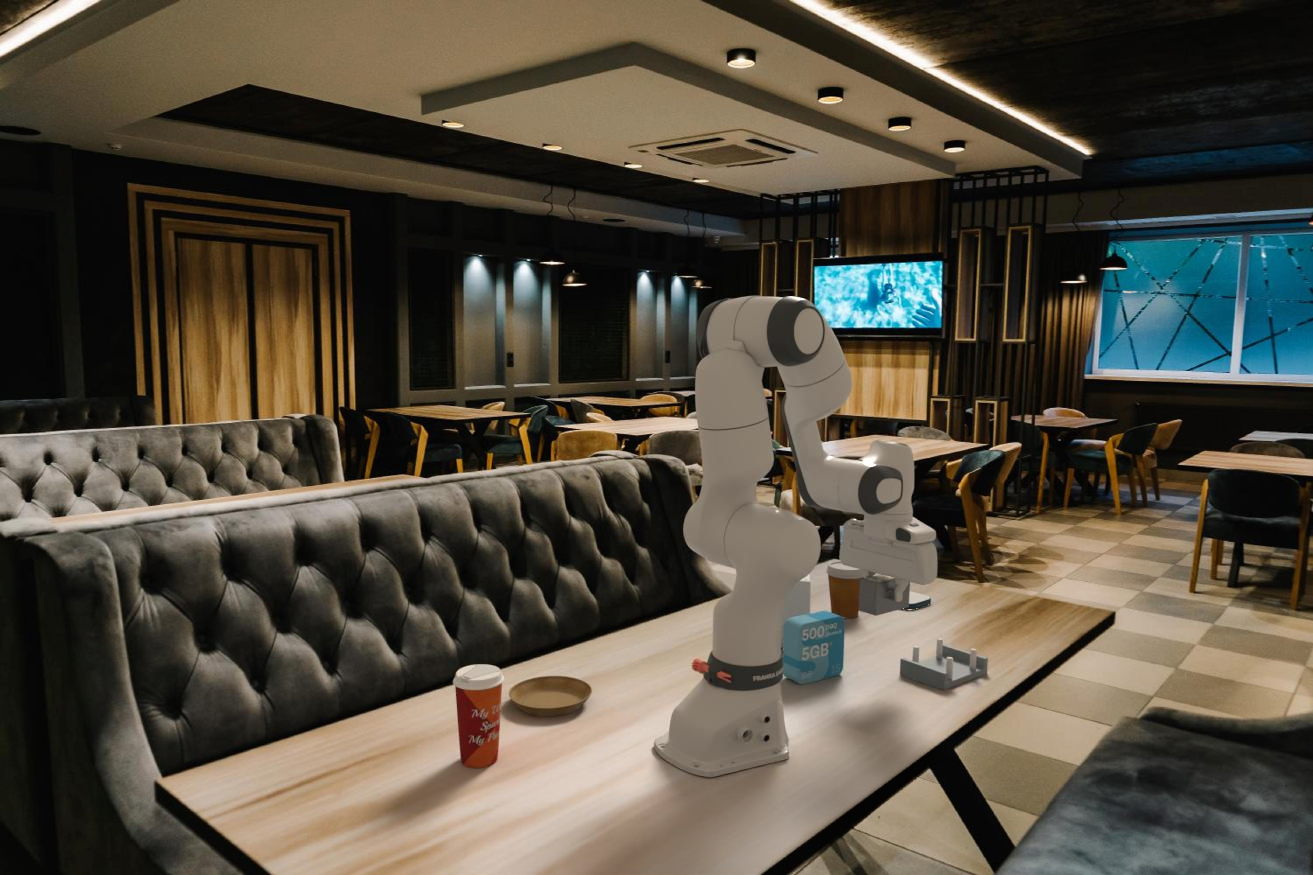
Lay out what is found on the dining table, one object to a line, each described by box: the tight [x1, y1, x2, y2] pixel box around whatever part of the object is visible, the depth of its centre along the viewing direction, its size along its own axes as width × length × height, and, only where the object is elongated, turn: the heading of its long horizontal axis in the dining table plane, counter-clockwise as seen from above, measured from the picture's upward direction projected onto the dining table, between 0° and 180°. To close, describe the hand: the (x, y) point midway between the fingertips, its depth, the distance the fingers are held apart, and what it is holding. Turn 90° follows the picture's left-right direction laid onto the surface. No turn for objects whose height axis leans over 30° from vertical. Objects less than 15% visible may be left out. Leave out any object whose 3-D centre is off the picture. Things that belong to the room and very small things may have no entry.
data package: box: [782, 610, 846, 685], centre depth 171 cm, size 12×4×12 cm, turn 122°
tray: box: [899, 638, 989, 691], centre depth 174 cm, size 15×10×5 cm
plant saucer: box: [508, 675, 593, 717], centre depth 157 cm, size 15×15×3 cm
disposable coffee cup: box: [825, 560, 864, 619], centre depth 212 cm, size 10×10×12 cm
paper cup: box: [452, 663, 505, 769], centre depth 135 cm, size 8×8×14 cm
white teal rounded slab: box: [903, 590, 932, 610], centre depth 228 cm, size 24×12×2 cm, turn 41°
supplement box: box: [781, 572, 812, 649], centre depth 191 cm, size 9×9×15 cm
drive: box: [859, 574, 911, 617], centre depth 167 cm, size 10×4×6 cm, turn 128°
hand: (884, 597), depth 167 cm, fingers closed on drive, 4 cm apart
